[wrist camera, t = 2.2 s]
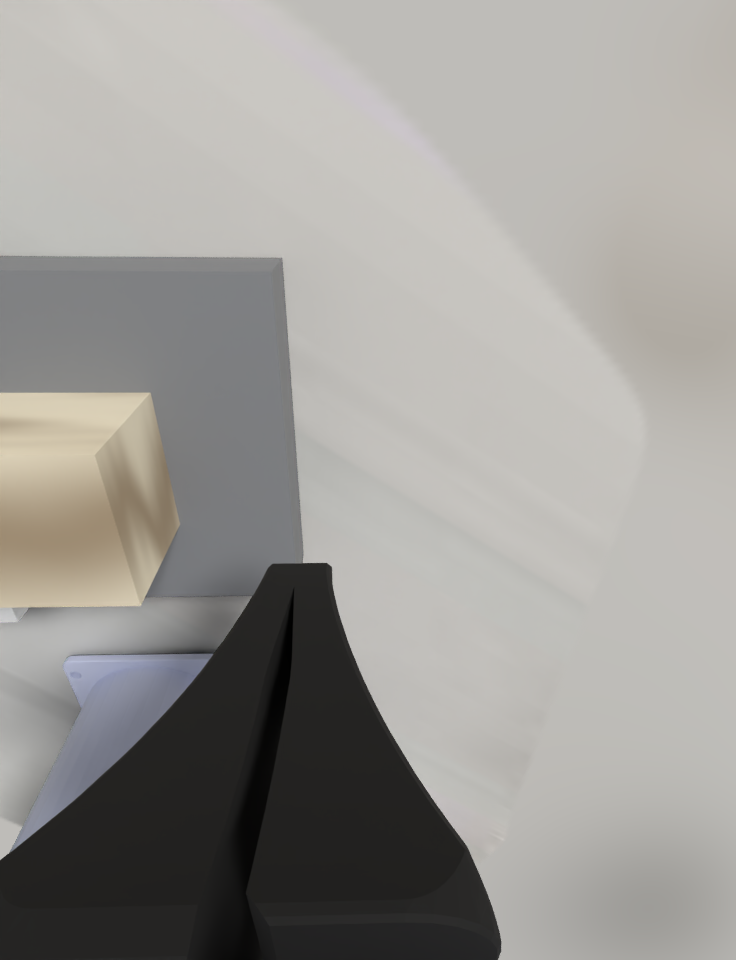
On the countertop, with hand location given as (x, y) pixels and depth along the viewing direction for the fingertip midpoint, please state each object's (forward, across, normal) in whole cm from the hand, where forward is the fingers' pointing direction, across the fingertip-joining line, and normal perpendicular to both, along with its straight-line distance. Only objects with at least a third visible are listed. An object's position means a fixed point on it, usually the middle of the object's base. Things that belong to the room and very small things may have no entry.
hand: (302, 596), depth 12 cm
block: (+6, +8, 0) cm, 10 cm away
